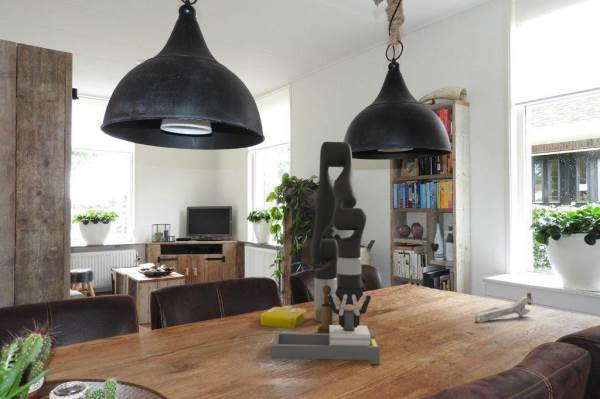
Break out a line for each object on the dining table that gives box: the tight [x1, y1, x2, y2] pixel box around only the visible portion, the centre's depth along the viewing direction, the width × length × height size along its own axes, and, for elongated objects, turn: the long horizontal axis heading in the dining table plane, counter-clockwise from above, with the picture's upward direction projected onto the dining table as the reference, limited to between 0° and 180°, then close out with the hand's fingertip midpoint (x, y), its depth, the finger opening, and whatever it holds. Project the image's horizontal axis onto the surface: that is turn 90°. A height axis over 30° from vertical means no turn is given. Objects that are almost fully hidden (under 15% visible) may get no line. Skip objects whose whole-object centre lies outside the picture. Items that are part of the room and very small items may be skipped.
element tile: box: [260, 306, 307, 329], centre depth 167 cm, size 15×15×5 cm
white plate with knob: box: [329, 308, 371, 346], centre depth 129 cm, size 9×12×13 cm
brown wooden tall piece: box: [317, 286, 333, 334], centre depth 150 cm, size 7×6×18 cm
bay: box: [271, 332, 381, 365], centre depth 129 cm, size 12×32×5 cm, turn 88°
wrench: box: [474, 296, 533, 323], centre depth 173 cm, size 8×2×30 cm
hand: (348, 326), depth 129 cm, fingers closed on white plate with knob, 3 cm apart
